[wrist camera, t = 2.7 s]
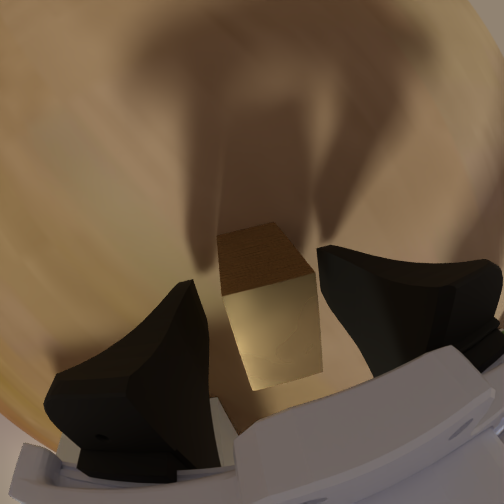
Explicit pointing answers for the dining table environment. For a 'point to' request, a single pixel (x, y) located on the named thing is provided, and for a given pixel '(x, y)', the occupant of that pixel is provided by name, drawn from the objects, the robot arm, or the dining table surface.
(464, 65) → the dining table surface
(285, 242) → the tan rectangular block
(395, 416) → the robot arm
